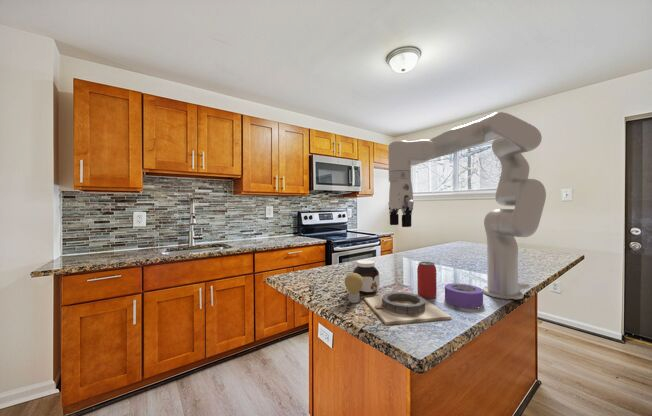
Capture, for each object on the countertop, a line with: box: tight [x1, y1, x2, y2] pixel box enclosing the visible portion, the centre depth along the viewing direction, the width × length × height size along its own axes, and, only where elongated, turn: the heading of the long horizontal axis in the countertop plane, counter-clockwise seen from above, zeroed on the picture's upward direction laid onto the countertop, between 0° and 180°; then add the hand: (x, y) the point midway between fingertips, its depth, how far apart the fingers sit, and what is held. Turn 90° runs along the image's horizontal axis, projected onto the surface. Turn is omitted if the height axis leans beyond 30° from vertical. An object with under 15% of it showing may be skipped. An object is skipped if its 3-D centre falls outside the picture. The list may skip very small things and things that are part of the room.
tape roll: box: [444, 282, 484, 309], centre depth 92 cm, size 12×12×5 cm
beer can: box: [416, 261, 438, 299], centre depth 98 cm, size 7×7×12 cm
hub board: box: [363, 291, 452, 326], centre depth 86 cm, size 20×20×3 cm
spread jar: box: [352, 259, 380, 295], centre depth 106 cm, size 12×11×12 cm
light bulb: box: [344, 272, 363, 304], centre depth 93 cm, size 6×6×10 cm
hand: (400, 225), depth 94 cm, fingers open, 9 cm apart
